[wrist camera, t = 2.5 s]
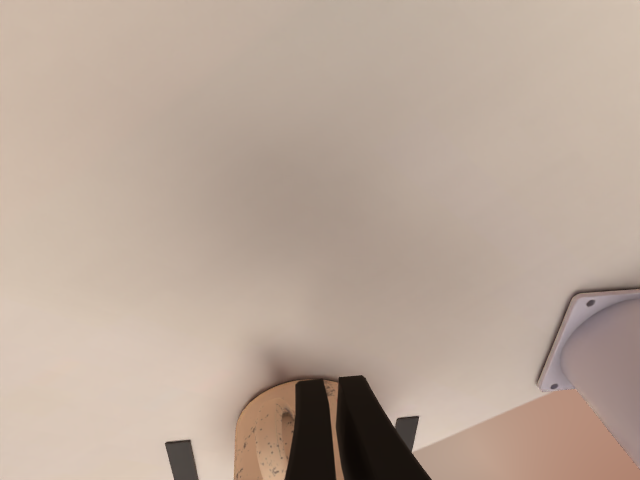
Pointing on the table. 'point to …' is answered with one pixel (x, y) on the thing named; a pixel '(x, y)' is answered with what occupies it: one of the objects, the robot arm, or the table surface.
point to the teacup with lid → (274, 433)
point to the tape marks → (185, 464)
